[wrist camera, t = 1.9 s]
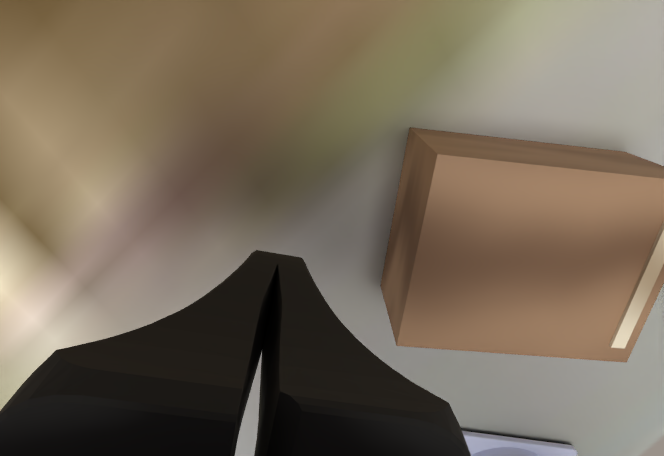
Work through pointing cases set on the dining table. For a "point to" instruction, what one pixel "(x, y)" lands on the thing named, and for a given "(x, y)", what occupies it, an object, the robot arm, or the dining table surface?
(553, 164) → the walnut block
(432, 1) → the dining table surface
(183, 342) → the robot arm
